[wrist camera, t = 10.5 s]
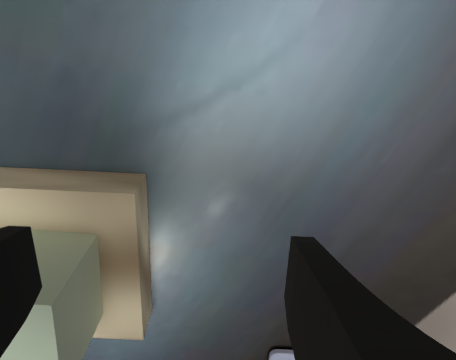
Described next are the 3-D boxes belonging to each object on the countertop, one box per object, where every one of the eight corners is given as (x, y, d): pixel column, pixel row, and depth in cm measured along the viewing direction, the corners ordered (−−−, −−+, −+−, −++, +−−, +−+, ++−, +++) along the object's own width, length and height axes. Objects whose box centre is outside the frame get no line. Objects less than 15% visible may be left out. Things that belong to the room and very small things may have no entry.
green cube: (102, 314, 20) (64, 400, 16) (9, 307, 20) (-58, 392, 15) (97, 234, 18) (51, 305, 14) (-6, 226, 18) (-88, 295, 14)
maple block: (153, 302, 24) (143, 339, 21) (11, 296, 24) (-19, 332, 21) (148, 170, 20) (134, 193, 17) (-20, 162, 20) (-60, 185, 17)
